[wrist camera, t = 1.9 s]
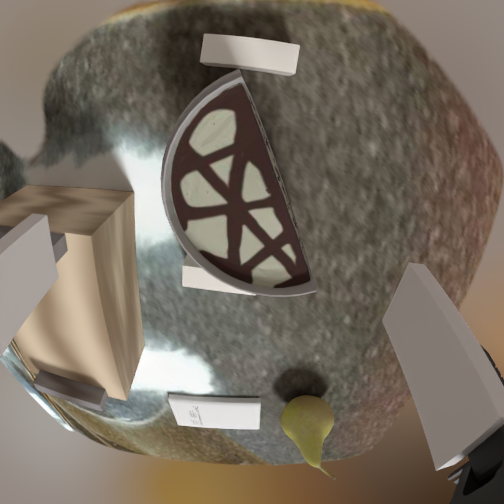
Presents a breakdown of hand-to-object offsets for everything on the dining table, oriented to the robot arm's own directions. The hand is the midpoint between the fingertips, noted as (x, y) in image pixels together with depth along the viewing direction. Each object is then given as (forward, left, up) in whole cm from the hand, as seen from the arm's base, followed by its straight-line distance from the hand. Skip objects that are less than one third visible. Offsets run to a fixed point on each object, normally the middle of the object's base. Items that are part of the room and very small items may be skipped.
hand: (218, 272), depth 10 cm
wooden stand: (-14, -12, -15) cm, 24 cm away
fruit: (+13, -29, -15) cm, 35 cm away
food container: (0, 0, -15) cm, 15 cm away
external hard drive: (+1, -34, -15) cm, 37 cm away
